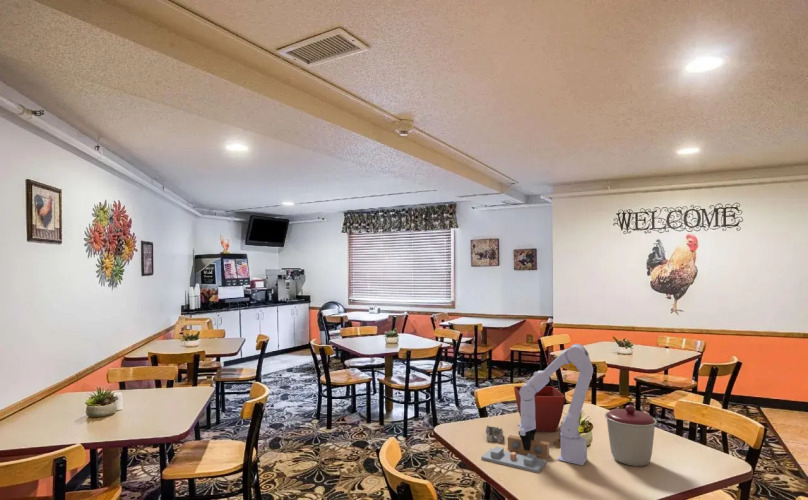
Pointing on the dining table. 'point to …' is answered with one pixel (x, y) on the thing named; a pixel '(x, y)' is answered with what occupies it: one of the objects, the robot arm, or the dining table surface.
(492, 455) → the display stand
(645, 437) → the canister
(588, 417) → the dining table surface
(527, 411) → the robot arm
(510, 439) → the brown bar
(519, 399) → the plant pot
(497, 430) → the stone castle ruin
